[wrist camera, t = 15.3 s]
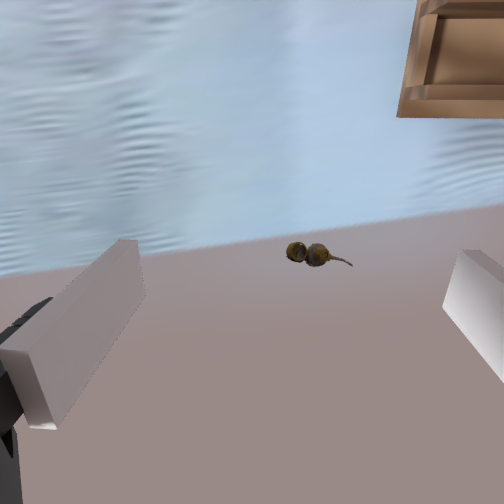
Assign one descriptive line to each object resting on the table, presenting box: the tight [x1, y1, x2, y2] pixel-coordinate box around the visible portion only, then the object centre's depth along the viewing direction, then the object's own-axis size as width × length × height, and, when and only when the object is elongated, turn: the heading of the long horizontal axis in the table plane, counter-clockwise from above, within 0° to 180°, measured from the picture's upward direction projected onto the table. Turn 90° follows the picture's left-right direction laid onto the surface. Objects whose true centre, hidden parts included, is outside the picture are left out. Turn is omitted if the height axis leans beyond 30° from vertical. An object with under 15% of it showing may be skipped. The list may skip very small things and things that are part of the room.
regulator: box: [286, 242, 353, 267], centre depth 56 cm, size 8×4×15 cm
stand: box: [396, 0, 504, 119], centre depth 31 cm, size 12×14×9 cm
